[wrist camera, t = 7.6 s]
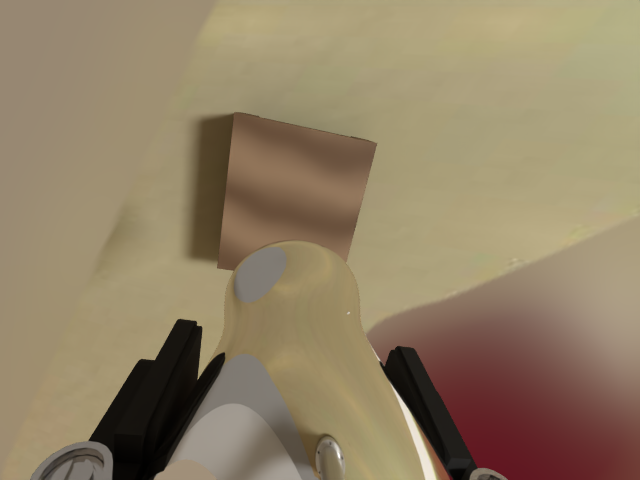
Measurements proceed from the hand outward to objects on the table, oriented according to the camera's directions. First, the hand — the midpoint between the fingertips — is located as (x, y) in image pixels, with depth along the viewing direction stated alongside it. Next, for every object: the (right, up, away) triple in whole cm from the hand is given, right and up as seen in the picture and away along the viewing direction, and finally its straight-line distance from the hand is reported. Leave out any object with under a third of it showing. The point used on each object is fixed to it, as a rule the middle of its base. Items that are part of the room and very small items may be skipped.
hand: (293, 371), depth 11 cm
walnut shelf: (-2, +9, +22) cm, 24 cm away
